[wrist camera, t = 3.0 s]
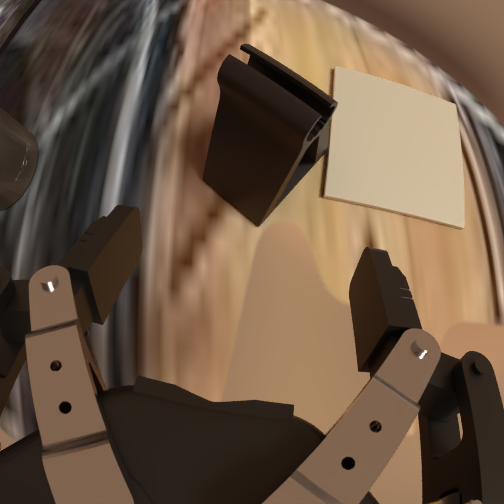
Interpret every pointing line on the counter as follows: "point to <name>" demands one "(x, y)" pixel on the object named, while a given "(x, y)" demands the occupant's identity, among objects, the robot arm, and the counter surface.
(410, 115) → the board
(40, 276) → the robot arm
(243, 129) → the phone stand
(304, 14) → the counter surface
